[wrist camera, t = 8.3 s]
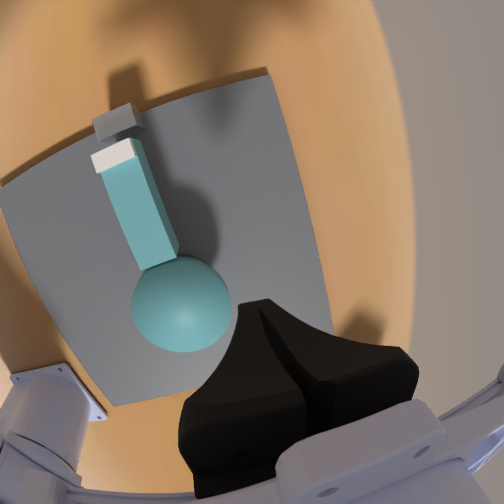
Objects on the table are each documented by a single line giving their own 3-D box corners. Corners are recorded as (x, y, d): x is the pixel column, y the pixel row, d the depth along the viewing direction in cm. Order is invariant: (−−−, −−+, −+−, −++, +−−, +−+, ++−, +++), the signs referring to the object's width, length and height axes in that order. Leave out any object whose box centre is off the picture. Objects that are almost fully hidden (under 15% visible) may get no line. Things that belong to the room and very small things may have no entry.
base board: (115, 400, 24) (113, 406, 23) (1, 189, 16) (-4, 191, 16) (331, 335, 26) (335, 340, 25) (267, 77, 18) (269, 74, 17)
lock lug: (112, 143, 17) (98, 141, 14) (107, 124, 16) (91, 119, 13) (145, 129, 17) (136, 124, 14) (140, 110, 16) (129, 102, 14)
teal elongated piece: (239, 315, 20) (246, 340, 17) (161, 341, 20) (157, 368, 17) (170, 128, 16) (164, 122, 13) (81, 167, 15) (61, 171, 12)
